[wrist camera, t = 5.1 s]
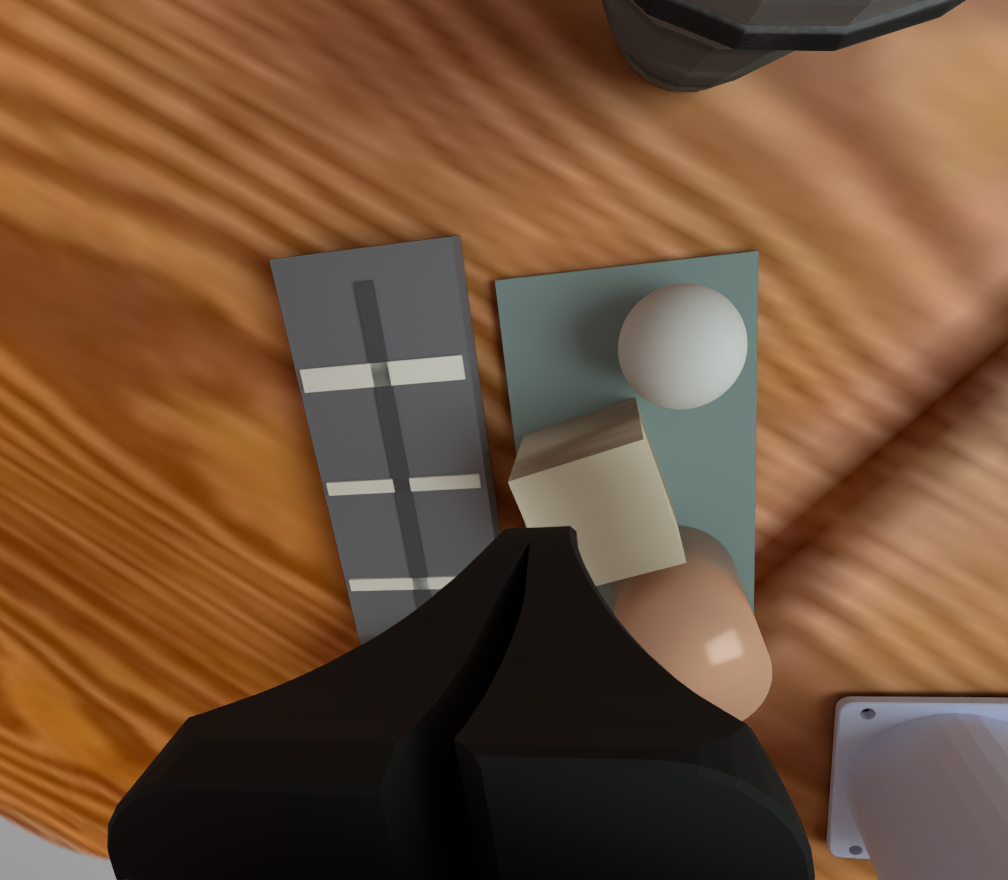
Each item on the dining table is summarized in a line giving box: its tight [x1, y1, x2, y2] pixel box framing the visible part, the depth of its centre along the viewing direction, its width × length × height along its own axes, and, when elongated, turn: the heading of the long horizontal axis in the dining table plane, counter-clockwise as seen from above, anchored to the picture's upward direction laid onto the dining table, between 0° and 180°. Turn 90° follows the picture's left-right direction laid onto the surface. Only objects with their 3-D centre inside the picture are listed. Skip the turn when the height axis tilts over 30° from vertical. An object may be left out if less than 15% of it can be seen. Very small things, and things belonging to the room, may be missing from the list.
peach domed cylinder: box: [612, 525, 772, 721], centre depth 20 cm, size 4×4×5 cm
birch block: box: [508, 398, 687, 586], centre depth 20 cm, size 4×4×4 cm
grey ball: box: [618, 283, 748, 409], centre depth 18 cm, size 4×4×4 cm
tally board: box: [269, 235, 501, 645], centre depth 23 cm, size 6×19×1 cm, turn 7°
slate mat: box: [495, 251, 758, 614], centre depth 22 cm, size 8×14×1 cm, turn 7°
